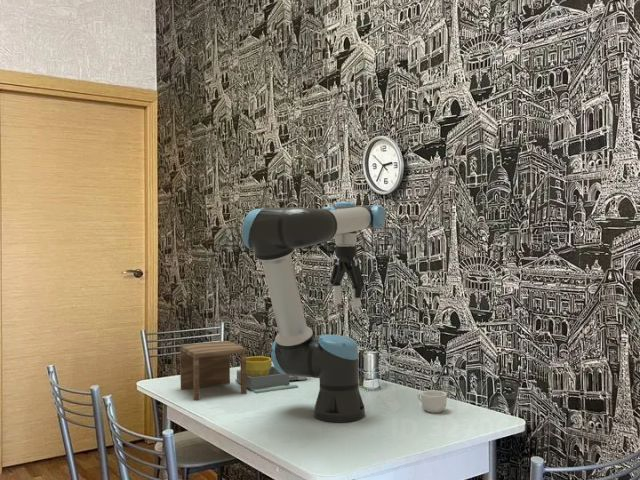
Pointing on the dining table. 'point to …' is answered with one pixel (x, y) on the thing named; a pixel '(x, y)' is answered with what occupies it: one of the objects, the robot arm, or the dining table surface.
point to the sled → (268, 379)
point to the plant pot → (258, 366)
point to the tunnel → (209, 365)
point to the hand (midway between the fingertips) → (346, 305)
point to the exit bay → (274, 388)
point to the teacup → (433, 400)
